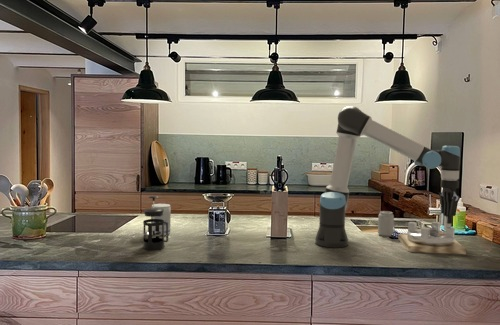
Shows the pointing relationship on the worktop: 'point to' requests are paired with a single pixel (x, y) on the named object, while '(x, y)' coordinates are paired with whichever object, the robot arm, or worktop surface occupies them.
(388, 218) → the can
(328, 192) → the robot arm
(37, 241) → the worktop surface
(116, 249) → the worktop surface
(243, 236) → the worktop surface
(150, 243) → the french press
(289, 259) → the worktop surface
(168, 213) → the supplement tub
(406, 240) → the base plate
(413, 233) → the ring nut
